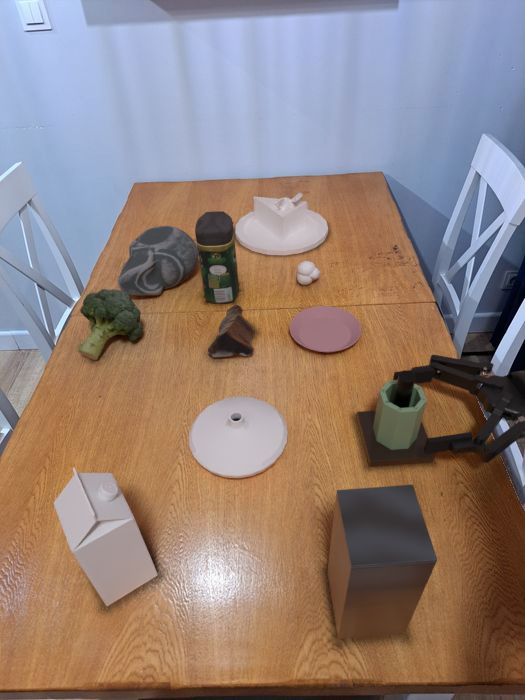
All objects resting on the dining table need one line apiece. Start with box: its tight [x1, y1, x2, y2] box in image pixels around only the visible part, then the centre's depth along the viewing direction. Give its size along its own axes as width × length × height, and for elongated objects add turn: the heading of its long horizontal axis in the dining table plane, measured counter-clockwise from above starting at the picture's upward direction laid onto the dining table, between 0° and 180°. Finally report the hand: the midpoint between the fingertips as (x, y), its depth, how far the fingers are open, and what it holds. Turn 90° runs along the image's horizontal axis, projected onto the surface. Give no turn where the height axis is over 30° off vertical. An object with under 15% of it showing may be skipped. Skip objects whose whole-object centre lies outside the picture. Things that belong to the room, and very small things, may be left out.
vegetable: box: [77, 288, 144, 361], centre depth 97 cm, size 12×13×15 cm
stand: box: [326, 484, 438, 640], centre depth 54 cm, size 8×8×20 cm
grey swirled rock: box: [117, 225, 199, 296], centre depth 112 cm, size 11×16×20 cm
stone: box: [207, 304, 256, 359], centre depth 98 cm, size 9×6×15 cm
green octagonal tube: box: [373, 379, 428, 450], centre depth 75 cm, size 6×6×9 cm
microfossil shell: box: [296, 260, 321, 286], centre depth 112 cm, size 4×5×6 cm
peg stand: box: [356, 369, 436, 468], centre depth 75 cm, size 10×10×14 cm
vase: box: [188, 395, 289, 479], centre depth 77 cm, size 16×16×7 cm
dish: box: [234, 192, 329, 256], centre depth 128 cm, size 25×25×11 cm
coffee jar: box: [194, 210, 240, 305], centre depth 105 cm, size 10×8×19 cm
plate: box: [289, 305, 362, 353], centre depth 99 cm, size 14×14×2 cm
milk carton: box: [53, 467, 159, 607], centre depth 59 cm, size 7×7×19 cm
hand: (408, 410), depth 75 cm, fingers open, 13 cm apart
